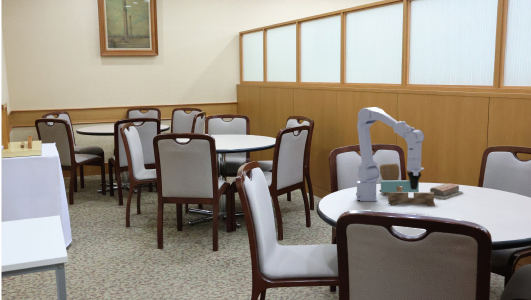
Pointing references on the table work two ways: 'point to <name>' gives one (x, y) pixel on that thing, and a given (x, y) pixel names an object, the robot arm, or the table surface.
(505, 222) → the table surface
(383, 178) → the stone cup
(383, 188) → the slotted panel
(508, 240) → the table surface
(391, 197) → the notched board
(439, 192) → the packaged product
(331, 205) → the table surface
